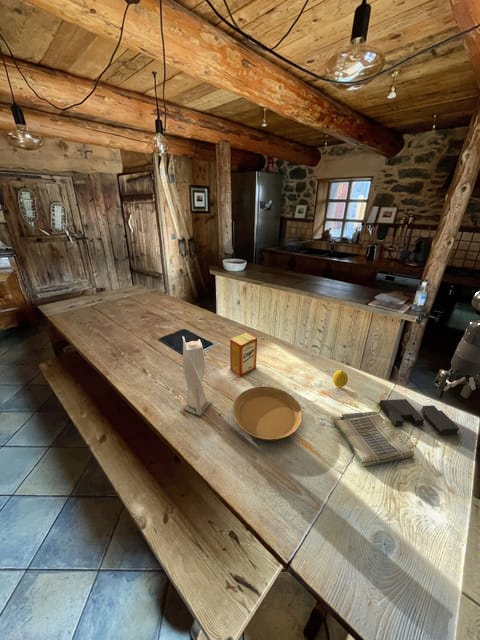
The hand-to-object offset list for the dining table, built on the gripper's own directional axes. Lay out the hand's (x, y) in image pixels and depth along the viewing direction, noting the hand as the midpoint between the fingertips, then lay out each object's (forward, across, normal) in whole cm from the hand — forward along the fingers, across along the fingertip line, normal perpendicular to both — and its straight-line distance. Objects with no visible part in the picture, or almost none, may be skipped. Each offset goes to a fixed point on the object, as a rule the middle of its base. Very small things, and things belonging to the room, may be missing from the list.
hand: (451, 397), depth 86 cm
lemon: (+13, -27, +21) cm, 36 cm away
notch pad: (+12, -11, +5) cm, 17 cm away
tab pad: (+12, 0, +1) cm, 12 cm away
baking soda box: (+13, -65, +35) cm, 75 cm away
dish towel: (+13, -27, -4) cm, 30 cm away
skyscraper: (+13, -84, +14) cm, 86 cm away
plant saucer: (+13, -59, +7) cm, 60 cm away
